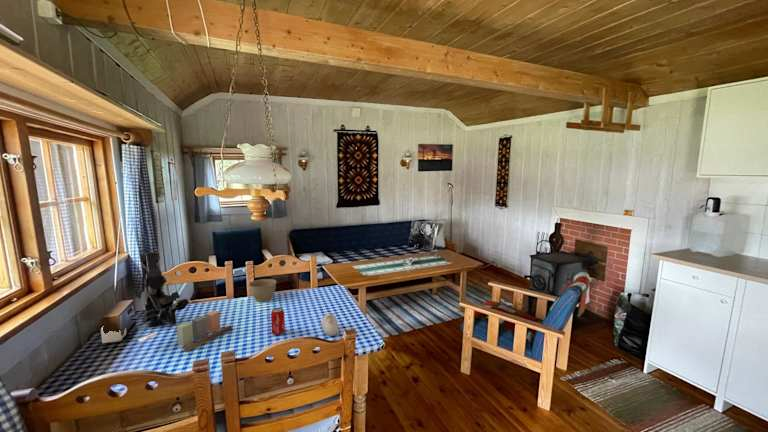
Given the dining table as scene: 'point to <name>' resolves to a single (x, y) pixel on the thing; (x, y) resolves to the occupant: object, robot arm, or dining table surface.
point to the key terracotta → (213, 321)
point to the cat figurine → (330, 324)
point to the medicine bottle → (112, 336)
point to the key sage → (184, 334)
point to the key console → (207, 338)
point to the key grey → (199, 327)
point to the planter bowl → (262, 289)
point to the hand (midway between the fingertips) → (174, 324)
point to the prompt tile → (146, 337)
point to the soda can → (277, 321)
